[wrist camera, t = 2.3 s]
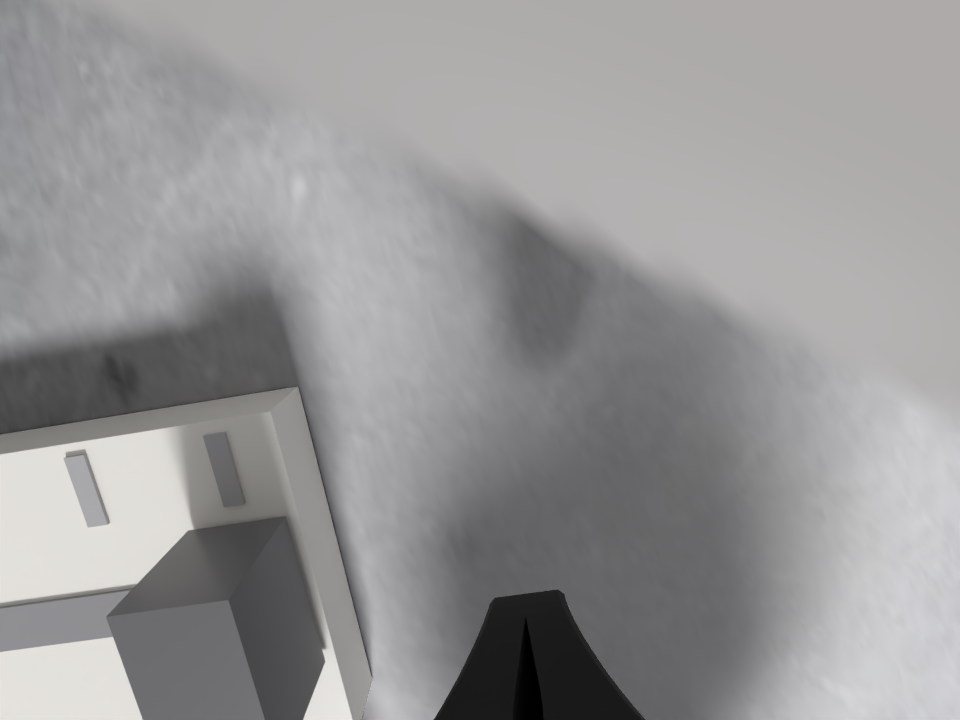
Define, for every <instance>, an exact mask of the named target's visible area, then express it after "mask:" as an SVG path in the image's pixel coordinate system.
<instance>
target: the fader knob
mask: <svg viewBox="0 0 960 720" xmlns="http://www.w3.org/2000/svg"><path fill="white" fill-rule="evenodd" d="M106 619H107V622H108V624H109V627H110V630H111V633H112V635H113V638H114V641H115V644H116V647H117V649H118V652H119V655H120V658H121V660H122V663H123V666H124V669H125V672H126V674H127V677H128V680H129V683H130V685H131V688H132V691H133V694H134V697H135V699H136V702H137V705H138V708H139V710H140V713H141V716H142V719H143V720H303V718H304V716H305V713H306V711H307V708H308V705H309V703H310V700H311V698H312V695H313V692H314V690H315V687H316V685H317V682H318V679H319V677H320V674H321V672H322V669H323V666H324V664H325V658H324V654H323V651H322V647H321V643H320V640H319V636H318V632H317V629H316V625H315V621H314V618H313V614H312V610H311V607H310V603H309V599H308V595H307V592H306V588H305V584H304V581H303V577H302V573H301V570H300V566H299V562H298V559H297V555H296V551H295V548H294V544H293V540H292V537H291V533H290V529H289V525H288V522H287V518H286V516H284V517H277V518H270V519H263V520H257V521H250V522H243V523H236V524H229V525H222V526H216V527H209V528H202V529H195V530H188V531H187V532H186V533H185V534H184V535H183V536H182V537H181V538H180V540H179V541H178V542H177V543H176V544H175V545H174V546H173V547H172V548H171V549H170V550H169V551H168V552H167V553H166V554H165V555H164V556H163V557H162V558H161V559H160V560H159V562H158V563H157V564H156V565H155V566H154V567H153V568H152V569H151V570H150V571H149V572H148V573H147V574H146V575H145V576H144V577H143V578H142V579H141V580H140V581H139V583H138V584H137V585H136V586H135V587H134V588H133V589H132V590H131V591H130V592H129V593H128V594H127V595H126V596H125V597H124V598H123V599H122V600H121V601H120V602H119V603H118V605H117V606H116V607H115V608H114V609H113V610H112V611H111V612H110V613H109V614H108V615H107V616H106Z"/></svg>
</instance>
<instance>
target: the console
mask: <svg viewBox="0 0 960 720" xmlns="http://www.w3.org/2000/svg"><path fill="white" fill-rule="evenodd" d="M284 516H286V518H287V522H288V525H289V529H290V533H291V537H292V540H293V544H294V548H295V551H296V555H297V559H298V562H299V566H300V570H301V573H302V577H303V581H304V584H305V588H306V592H307V595H308V599H309V603H310V607H311V610H312V614H313V618H314V621H315V625H316V629H317V632H318V636H319V640H320V643H321V647H322V651H323V654H324V658H325V664H324V666H323V669H322V672H321V674H320V677H319V679H318V682H317V685H316V687H315V690H314V692H313V695H312V698H311V700H310V703H309V705H308V708H307V711H306V713H305V716H304V718H303V720H362V716H363V713H364V709H365V705H366V702H367V698H368V694H369V691H370V687H371V683H372V677H371V673H370V669H369V665H368V661H367V657H366V653H365V649H364V645H363V641H362V637H361V633H360V629H359V625H358V621H357V617H356V613H355V609H354V605H353V601H352V598H351V594H350V590H349V586H348V582H347V578H346V574H345V570H344V566H343V562H342V558H341V554H340V550H339V546H338V542H337V538H336V534H335V530H334V526H333V522H332V518H331V515H330V511H329V507H328V503H327V499H326V495H325V491H324V487H323V483H322V479H321V475H320V471H319V467H318V463H317V459H316V455H315V451H314V447H313V443H312V439H311V435H310V431H309V428H308V424H307V420H306V416H305V412H304V408H303V404H302V400H301V396H300V392H299V388H298V386H297V387H291V388H285V389H279V390H273V391H266V392H260V393H254V394H248V395H242V396H235V397H229V398H223V399H217V400H211V401H205V402H198V403H192V404H186V405H180V406H174V407H167V408H161V409H155V410H149V411H143V412H137V413H130V414H124V415H118V416H112V417H106V418H99V419H93V420H87V421H81V422H75V423H69V424H62V425H56V426H50V427H44V428H38V429H31V430H25V431H19V432H13V433H7V434H1V435H0V720H143V719H142V716H141V713H140V710H139V708H138V705H137V702H136V699H135V697H134V694H133V691H132V688H131V685H130V683H129V680H128V677H127V674H126V672H125V669H124V666H123V663H122V660H121V658H120V655H119V652H118V649H117V647H116V644H115V641H114V638H113V635H112V633H111V630H110V627H109V624H108V622H107V619H106V616H107V615H108V614H109V613H110V612H111V611H112V610H113V609H114V608H115V607H116V606H117V605H118V603H119V602H120V601H121V600H122V599H123V598H124V597H125V596H126V595H127V594H128V593H129V592H130V591H131V590H132V589H133V588H134V587H135V586H136V585H137V584H138V583H139V581H140V580H141V579H142V578H143V577H144V576H145V575H146V574H147V573H148V572H149V571H150V570H151V569H152V568H153V567H154V566H155V565H156V564H157V563H158V562H159V560H160V559H161V558H162V557H163V556H164V555H165V554H166V553H167V552H168V551H169V550H170V549H171V548H172V547H173V546H174V545H175V544H176V543H177V542H178V541H179V540H180V538H181V537H182V536H183V535H184V534H185V533H186V532H187V531H188V530H195V529H202V528H209V527H216V526H222V525H229V524H236V523H243V522H250V521H257V520H263V519H270V518H277V517H284Z"/></svg>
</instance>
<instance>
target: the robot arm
mask: <svg viewBox="0 0 960 720" xmlns="http://www.w3.org/2000/svg"><path fill="white" fill-rule="evenodd" d="M434 720H645V719H644V718H643V717H642V715H641V714H640V713H639V712H638V711H637V710H636V709H635V707H634V706H633V705H632V704H631V703H630V701H629V700H628V699H627V698H626V697H625V695H624V694H623V693H622V692H621V690H620V689H619V688H618V686H617V685H616V684H615V682H614V681H613V680H612V679H611V677H610V676H609V675H608V673H607V672H606V670H605V669H604V668H603V666H602V665H601V663H600V662H599V660H598V659H597V657H596V656H595V654H594V653H593V651H592V650H591V648H590V647H589V645H588V643H587V642H586V640H585V639H584V637H583V635H582V633H581V632H580V630H579V628H578V626H577V624H576V623H575V621H574V619H573V617H572V615H571V612H570V610H569V608H568V605H567V602H566V600H565V595H564V594H563V593H562V592H560V591H559V590H551V591H544V592H536V593H528V594H521V595H513V596H506V597H498V598H494V600H493V601H492V602H491V603H490V605H489V609H488V612H487V615H486V617H485V620H484V623H483V625H482V628H481V630H480V633H479V635H478V637H477V639H476V642H475V644H474V646H473V648H472V651H471V653H470V655H469V657H468V659H467V661H466V663H465V665H464V667H463V669H462V671H461V673H460V675H459V677H458V679H457V681H456V683H455V684H454V686H453V688H452V690H451V691H450V693H449V695H448V697H447V698H446V700H445V702H444V704H443V705H442V707H441V709H440V711H439V712H438V714H437V716H436V717H435V719H434Z"/></svg>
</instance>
